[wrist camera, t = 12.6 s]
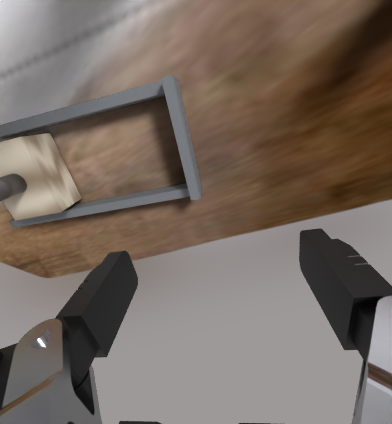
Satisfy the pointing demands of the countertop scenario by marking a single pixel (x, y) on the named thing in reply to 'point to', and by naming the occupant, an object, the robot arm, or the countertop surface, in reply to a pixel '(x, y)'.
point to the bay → (147, 92)
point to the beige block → (34, 177)
